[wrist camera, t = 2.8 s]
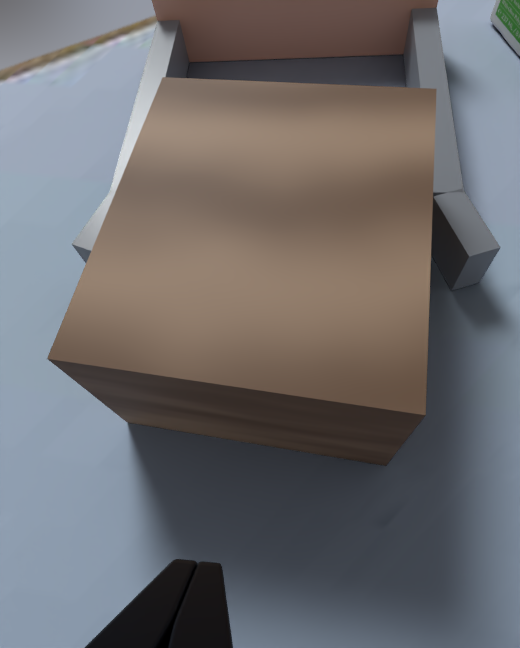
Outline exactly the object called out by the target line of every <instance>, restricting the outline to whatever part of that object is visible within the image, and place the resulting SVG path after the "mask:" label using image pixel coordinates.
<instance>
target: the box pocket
mask: <svg viewBox="0 0 520 648" xmlns="http://www.w3.org/2000/svg"><path fill="white" fill-rule="evenodd" d="M152 3H153V6H154V10H155V13H156V17H157V25H156V28H155V32H154V35H153V39H152V43H151V46H150V50H149V53H148V57H147V60H146V64H145V67H144V71H143V75H142V78H141V82H140V85H139V89H138V92H137V96H136V100H135V103H134V107H133V110H132V114H131V117H130V121H129V124H128V128H127V132H126V135H125V139H124V142H123V146H122V149H121V153H120V156H119V160H118V164H117V167H116V171H115V174H114V178H113V181H112V185H111V189H110V192H109V194H108V195H107V196H106V198H105V199H104V200H103V202H102V203H101V205H100V206H99V207H98V209H97V210H96V211H95V213H94V214H93V215H92V217H91V218H90V220H89V221H88V222H87V224H86V225H85V226H84V228H83V229H82V231H81V232H80V233H79V235H78V236H77V237H76V239H75V240H74V241H73V243H72V245H73V246H74V248H75V249H76V251H77V252H78V253H79V255H80V256H81V257H82V259H83V260H84V261H85V263H87V260H88V258H89V256H90V253H91V251H92V248H93V246H94V243H95V241H96V238H97V236H98V234H99V231H100V229H101V226H102V224H103V221H104V219H105V217H106V214H107V212H108V209H109V207H110V204H111V202H112V199H113V197H114V195H115V192H116V190H117V187H118V185H119V182H120V180H121V178H122V175H123V173H124V170H125V168H126V165H127V163H128V160H129V158H130V156H131V153H132V151H133V148H134V146H135V143H136V141H137V138H138V136H139V134H140V131H141V129H142V126H143V124H144V121H145V119H146V117H147V114H148V112H149V109H150V107H151V104H152V102H153V99H154V97H155V95H156V92H157V90H158V87H159V85H160V82H161V80H162V77H170V78H186V76H187V71H188V67H189V62H209V61H236V60H263V59H290V58H317V57H344V56H371V55H398V54H403V57H404V68H405V79H406V87H408V88H431V89H437V92H436V122H435V151H434V181H433V211H432V240H431V255H432V256H433V258H434V260H435V262H436V264H437V265H438V267H439V269H440V271H441V273H442V274H443V276H444V278H445V280H446V282H447V283H448V285H449V287H450V289H451V291H452V290H455V289H459V288H462V287H466V286H469V285H472V284H476V283H479V282H480V280H481V279H482V277H483V276H484V274H485V272H486V271H487V269H488V267H489V266H490V264H491V262H492V261H493V259H494V257H495V256H496V254H497V252H498V251H499V249H500V246H499V244H498V243H497V241H496V240H495V238H494V237H493V235H492V233H491V232H490V230H489V229H488V227H487V226H486V224H485V223H484V221H483V220H482V218H481V216H480V215H479V213H478V212H477V210H476V209H475V207H474V206H473V204H472V202H471V201H470V199H469V198H468V196H467V195H466V193H465V192H464V189H463V182H462V175H461V169H460V162H459V155H458V148H457V142H456V135H455V128H454V122H453V115H452V108H451V102H450V95H449V88H448V82H447V75H446V68H445V62H444V55H443V48H442V41H441V35H440V28H439V21H438V15H437V8H436V7H437V3H438V0H152Z"/></svg>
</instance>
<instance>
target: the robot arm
mask: <svg viewBox="0 0 520 648" xmlns="http://www.w3.org/2000/svg"><path fill="white" fill-rule="evenodd" d="M85 648H233V644H232V636H231V629H230V622H229V614H228V607H227V600H226V592H225V585H224V577H223V570H222V566H221V564H220V563H212V562H199V563H198V564H197V562H196V561H192V560H182V559H176V560H173V561H172V562H171V563H170V564H169V565H168V566H167V567H166V568H165V569H164V570H163V571H162V572H161V573H160V574H159V575H158V576H157V577H156V578H155V579H154V580H153V581H152V582H151V583H149V584H148V585H147V586H146V587H145V588H144V589H143V590H142V591H141V592H140V593H139V594H138V595H137V596H136V597H135V598H134V599H133V600H132V601H131V602H130V603H129V604H128V605H127V606H126V607H125V608H124V609H123V610H122V611H121V612H120V613H119V614H118V615H117V616H116V617H115V618H114V619H113V620H112V621H111V622H110V623H109V624H108V625H107V626H106V627H105V628H104V629H103V630H102V631H101V632H100V633H99V634H98V635H97V636H96V637H95V638H94V639H93V640H92V641H91V642H90V643H89V644H88V645H87V646H86V647H85Z"/></svg>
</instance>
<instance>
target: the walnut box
mask: <svg viewBox="0 0 520 648" xmlns="http://www.w3.org/2000/svg"><path fill="white" fill-rule="evenodd" d="M436 92H437V89H431V88H408V87H384V86H360V85H336V84H313V83H289V82H265V81H242V80H218V79H194V78H170V77H162V80H161V82H160V85H159V87H158V90H157V92H156V95H155V97H154V99H153V102H152V104H151V107H150V109H149V112H148V114H147V117H146V119H145V121H144V124H143V126H142V129H141V131H140V134H139V136H138V138H137V141H136V143H135V146H134V148H133V151H132V153H131V156H130V158H129V160H128V163H127V165H126V168H125V170H124V173H123V175H122V178H121V180H120V182H119V185H118V187H117V190H116V192H115V195H114V197H113V199H112V202H111V204H110V207H109V209H108V212H107V214H106V217H105V219H104V221H103V224H102V226H101V229H100V231H99V234H98V236H97V238H96V241H95V243H94V246H93V248H92V251H91V253H90V256H89V258H88V260H87V263H86V265H85V268H84V270H83V273H82V275H81V278H80V280H79V282H78V285H77V287H76V290H75V292H74V295H73V297H72V299H71V302H70V304H69V307H68V309H67V312H66V314H65V317H64V319H63V321H62V324H61V326H60V329H59V331H58V334H57V336H56V339H55V341H54V343H53V346H52V348H51V351H50V353H49V356H48V358H47V359H48V360H49V361H51V362H52V363H53V364H54V365H56V366H57V367H58V368H59V369H61V370H62V371H63V372H65V373H66V374H67V375H68V376H70V377H71V378H72V379H73V380H75V381H76V382H77V383H78V384H80V385H81V386H82V387H83V388H85V389H86V390H87V391H88V392H90V393H91V394H92V395H93V396H95V397H96V398H97V399H98V400H100V401H101V402H102V403H104V404H105V405H106V406H107V407H109V408H110V409H111V410H112V411H114V412H115V413H116V414H117V415H119V416H120V417H121V418H122V419H124V420H125V421H126V422H128V423H134V424H140V425H146V426H152V427H157V428H163V429H169V430H175V431H181V432H187V433H193V434H199V435H205V436H211V437H217V438H223V439H229V440H235V441H241V442H247V443H253V444H259V445H265V446H271V447H277V448H283V449H289V450H295V451H301V452H307V453H312V454H318V455H324V456H330V457H336V458H342V459H348V460H354V461H360V462H366V463H372V464H378V465H384V466H386V465H387V464H388V463H389V461H390V460H391V459H392V458H393V456H394V455H395V454H396V452H397V451H398V450H399V449H400V447H401V446H402V445H403V444H404V442H405V441H406V440H407V438H408V437H409V436H410V435H411V433H412V432H413V431H414V429H415V428H416V427H417V426H418V424H419V423H420V422H421V420H422V419H423V418H424V417H425V415H426V389H427V359H428V329H429V300H430V270H431V240H432V211H433V181H434V151H435V122H436Z"/></svg>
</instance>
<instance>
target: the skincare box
mask: <svg viewBox="0 0 520 648" xmlns="http://www.w3.org/2000/svg"><path fill="white" fill-rule="evenodd" d="M490 19H491V22H492V23H493V25H494V26H495V27H496V28H497V29H498V30H499V31H500V32H501V34H502V35H503V37H504V38H505V39H506V41H507V42H508V43H509V44H510V46H511V47H512V48H513V49H514V50H515V51H516V53H517V54H518V55H519V56H520V0H496V2H495V5H494V8H493V11H492V14H491V17H490Z"/></svg>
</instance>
